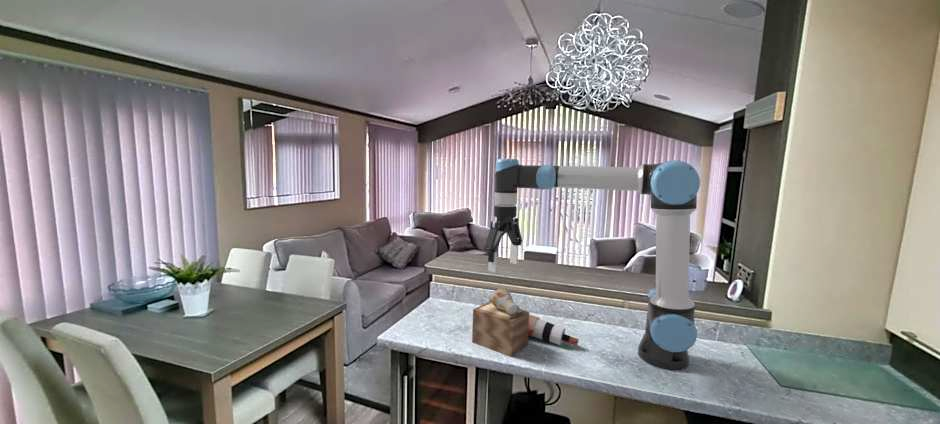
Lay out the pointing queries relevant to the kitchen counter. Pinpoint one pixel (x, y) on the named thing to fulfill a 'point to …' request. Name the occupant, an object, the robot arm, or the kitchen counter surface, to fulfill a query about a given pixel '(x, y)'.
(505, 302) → the mug
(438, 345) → the kitchen counter surface
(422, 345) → the kitchen counter surface
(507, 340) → the plate
